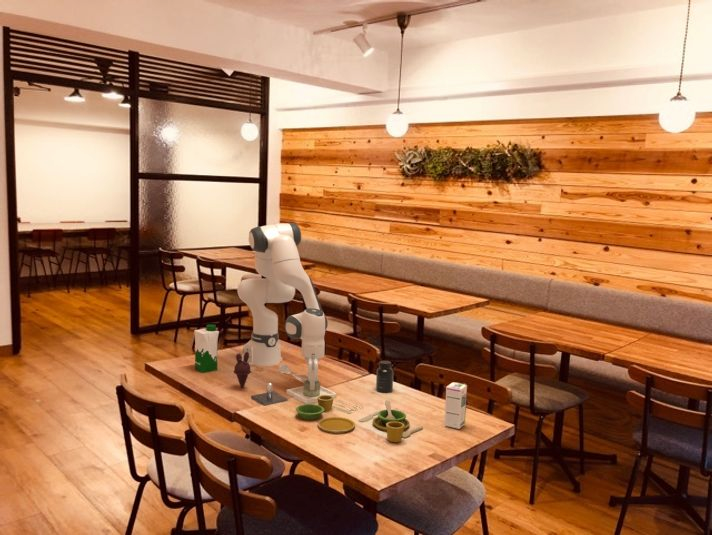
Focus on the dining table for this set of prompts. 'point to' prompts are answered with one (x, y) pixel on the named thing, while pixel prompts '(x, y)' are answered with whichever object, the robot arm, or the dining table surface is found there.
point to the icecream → (242, 368)
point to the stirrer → (286, 370)
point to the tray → (300, 396)
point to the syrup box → (455, 405)
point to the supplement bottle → (384, 377)
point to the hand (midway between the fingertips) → (311, 385)
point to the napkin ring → (309, 392)
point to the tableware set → (385, 421)
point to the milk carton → (206, 349)
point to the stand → (269, 397)
